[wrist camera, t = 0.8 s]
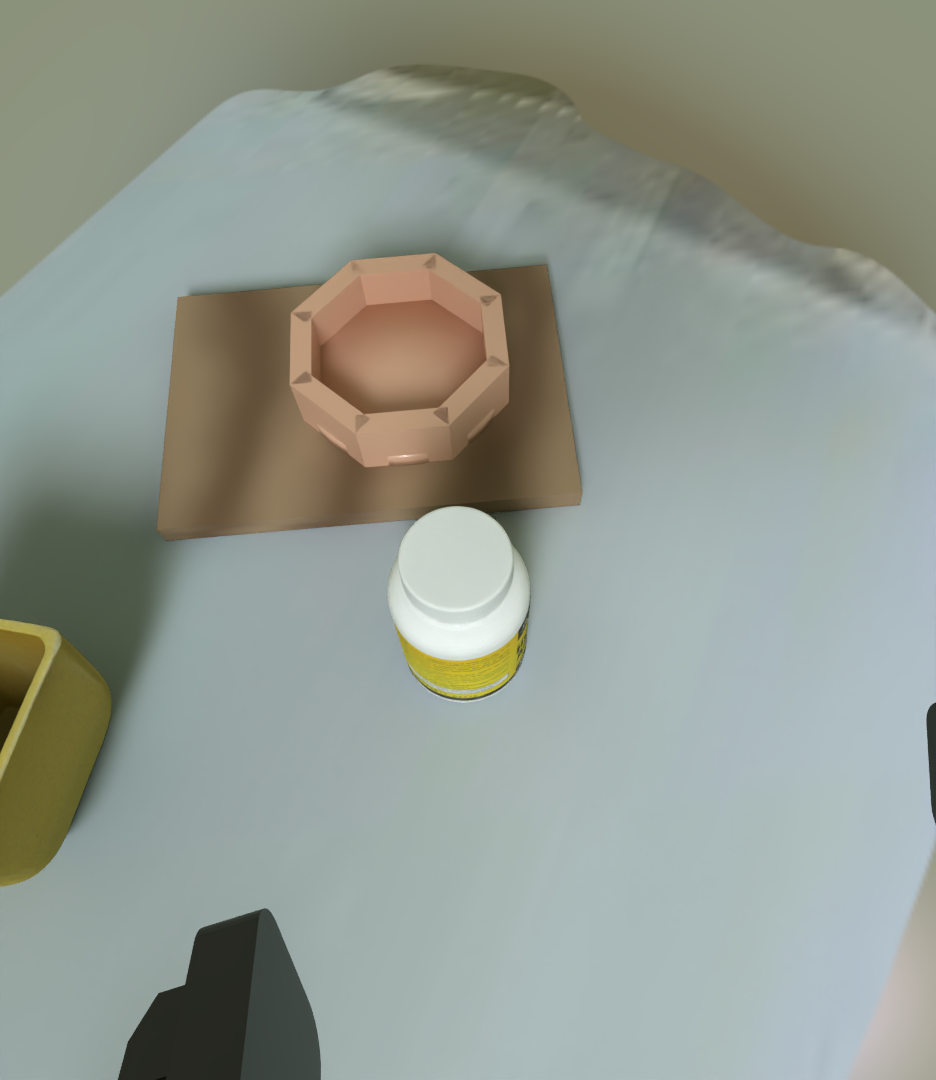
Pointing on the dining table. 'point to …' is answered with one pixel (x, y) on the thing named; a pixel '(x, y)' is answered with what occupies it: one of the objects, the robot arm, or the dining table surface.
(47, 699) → the flower pot
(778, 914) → the dining table surface
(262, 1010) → the robot arm
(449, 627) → the supplement bottle
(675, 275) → the dining table surface
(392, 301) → the octagonal planter bowl
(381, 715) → the dining table surface
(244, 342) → the walnut board
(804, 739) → the dining table surface
